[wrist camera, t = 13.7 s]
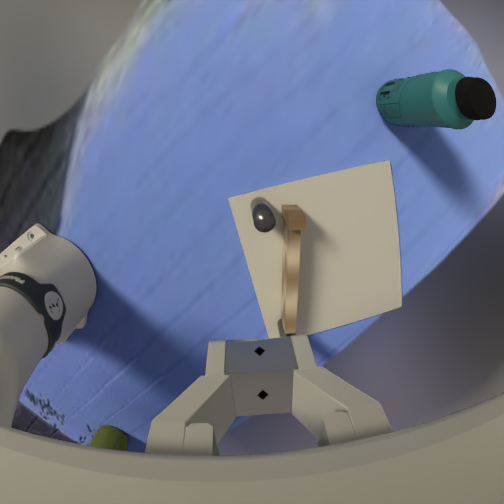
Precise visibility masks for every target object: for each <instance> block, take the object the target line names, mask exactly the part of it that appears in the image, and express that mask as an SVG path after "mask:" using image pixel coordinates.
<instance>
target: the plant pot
mask: <svg viewBox="0 0 504 504" xmlns="http://www.w3.org/2000/svg"><path fill="white" fill-rule="evenodd" d="M127 445H128V438H127V436H126V435H125V434H124V433H123V432H122V431H121V430H119V429H117V428H115V427H112V426H103V427H100V428H99V430H98V431H97V433H96V434H95V436H94V438H93V439H92V441H91V442H90V444H89V446H92V447H98V448H105V449H112V450H120V451H127Z"/></svg>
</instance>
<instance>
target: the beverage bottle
mask: <svg viewBox="0 0 504 504" xmlns="http://www.w3.org/2000/svg"><path fill="white" fill-rule="evenodd" d="M395 80H396V79H395ZM385 83H386V82H385ZM376 105H377V108H378V111H379V113H380V114H381V116H382V117H383V118H384V119H385V120H386V121H388V122H389V123H391V124H394V125H404V126H403V127H405V126H406V127H407V126H410V127H411V126H414V127H415V126H430V127H431V126H433V127H445V128H453V129H464V128H466V127H468V126H469V125H470V124H471V123H472V122H473V121H474V120H483V119H488V118H490V117H492V115H493V114H494V112H495V109H496V97H495V93H494V91H493V89H492V87H491V86H490V84H489V83H488V82H487V81H485V80H484V79H482V78H474V77H465V76H464V75H463V74H461V73H460V72H458V71H455V70H451V69H447V70H443V71H440V72H432V73H428V74H427V73H426V74H423V75H420V74H419V75H416V76H414V77H408V78H405V79H400V78H399V79H398V80H396V81H393V80H392V82H390V81H389V82H387V83H386V84H384V85H383V86H382V87H381V88H380V89H379V90H378V93H377V97H376ZM401 127H402V126H401ZM424 128H425V127H424Z"/></svg>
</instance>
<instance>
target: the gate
mask: <svg viewBox="0 0 504 504" xmlns="http://www.w3.org/2000/svg"><path fill="white" fill-rule="evenodd" d="M281 217H282V219H283V259H282V295H281V320H282V324H283V328H284V332H285V334H288V333H295V331H296V316H297V300H298V283H299V263H300V240H301V230H306V216H305V215H304V213H303V212H302V211H301V210H300V208H299V207H298V206H297V205H282V212H281Z"/></svg>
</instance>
